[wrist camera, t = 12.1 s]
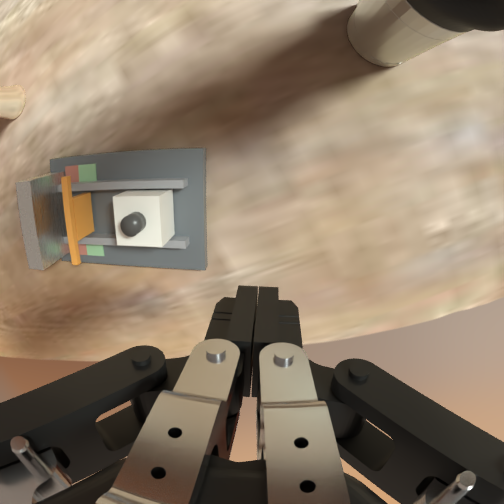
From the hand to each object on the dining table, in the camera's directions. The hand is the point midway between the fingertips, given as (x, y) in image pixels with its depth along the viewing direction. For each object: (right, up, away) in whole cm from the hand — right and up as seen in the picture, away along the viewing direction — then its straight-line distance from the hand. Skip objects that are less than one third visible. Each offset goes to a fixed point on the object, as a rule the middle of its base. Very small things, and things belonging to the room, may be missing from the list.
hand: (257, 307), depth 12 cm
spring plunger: (-13, +7, +27) cm, 31 cm away
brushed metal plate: (-29, +8, +28) cm, 41 cm away
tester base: (-18, +8, +29) cm, 35 cm away
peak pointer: (-23, +8, +28) cm, 37 cm away
